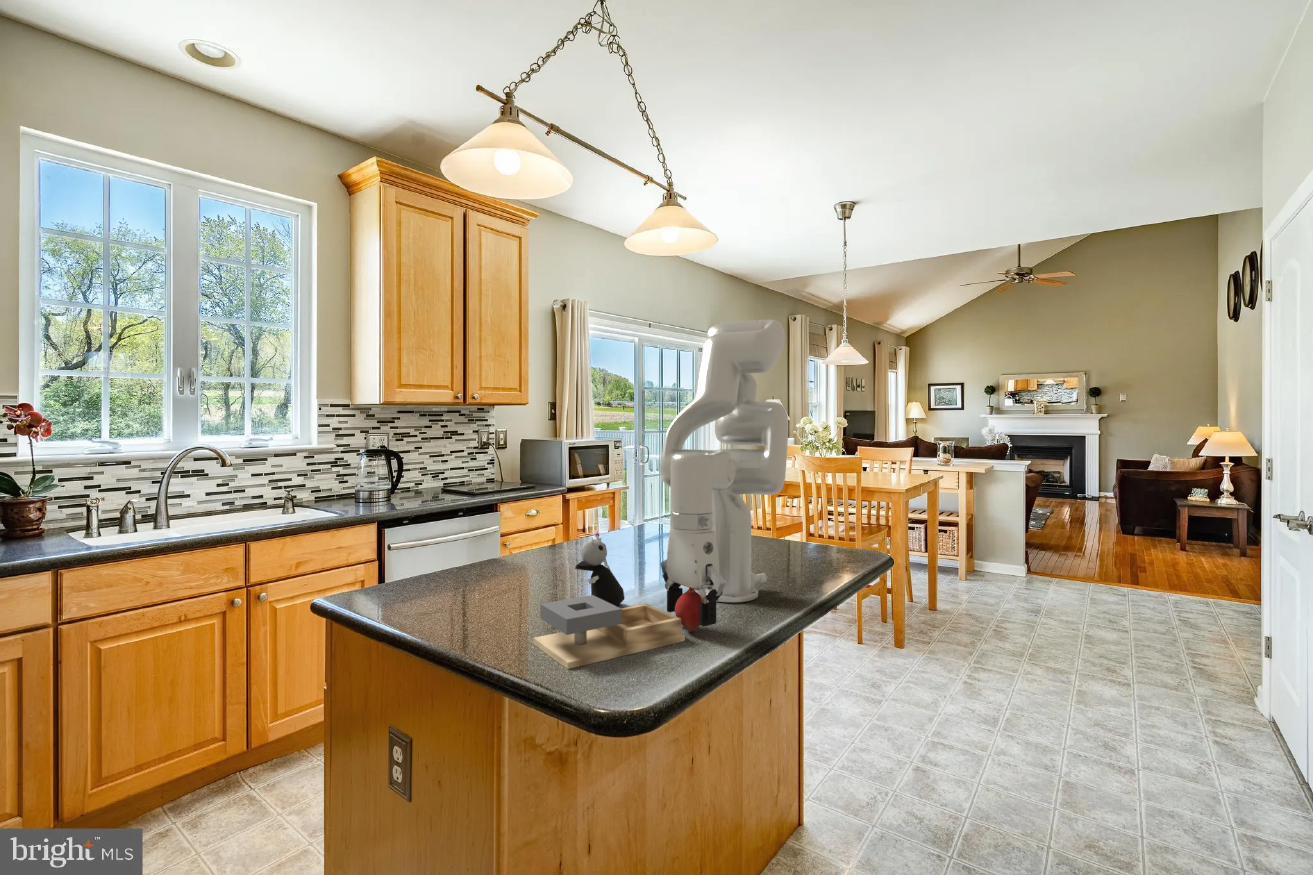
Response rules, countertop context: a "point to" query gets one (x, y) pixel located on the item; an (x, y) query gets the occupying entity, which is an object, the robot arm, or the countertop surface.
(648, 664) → the countertop surface
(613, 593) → the toy
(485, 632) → the countertop surface
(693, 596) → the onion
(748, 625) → the countertop surface
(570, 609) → the gray holed slab
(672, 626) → the wooden tray
